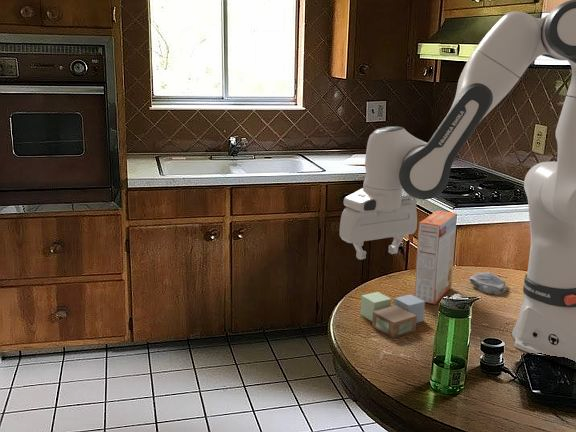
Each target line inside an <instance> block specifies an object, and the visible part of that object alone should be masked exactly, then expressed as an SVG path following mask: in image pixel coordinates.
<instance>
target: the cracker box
mask: <svg viewBox="0 0 576 432" xmlns="http://www.w3.org/2000/svg"><path fill="white" fill-rule="evenodd" d="M457 220H458V213H457V212H450V211H445V210H436V211H434V212H433V213H431V214H430V215H428V216H427V217H426V218H424V219H422V220H420V221H419V222H418V230H417V231H418V233H417V249H416V250H417V251H416V265H415V277H414V278H415V281H414V294H413V296H415V297H417V298H419V299H421V300H423V301H425V304H429V305H436V304H437V302H439V301H440V299H442V298H443V296H445V294H447V292H448V291H449V290H450V289H451V288H452V282H453V269H454V256H455V255H454V254H455V247H456V246H455V244H456V235H457V234H456V232H457Z"/></svg>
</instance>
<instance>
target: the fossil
mask: <svg viewBox="0 0 576 432" xmlns="http://www.w3.org/2000/svg"><path fill="white" fill-rule="evenodd" d="M468 279H469V282H470V284H471V285H472V286H473V287H475V289H477V290H478V291H479V292H483V293H484V294H487V295H488V294H493V295H502V294H504V293H505V292H506V291H507V289H508V287H507V285H506V280H504V279H502V278H501V277H499V276H498V275H496V274H494V273H492V272H489V271H485V272H484V271H483V272H477V273H475V274H473V275H471V276H470V277H469V278H468Z"/></svg>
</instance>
